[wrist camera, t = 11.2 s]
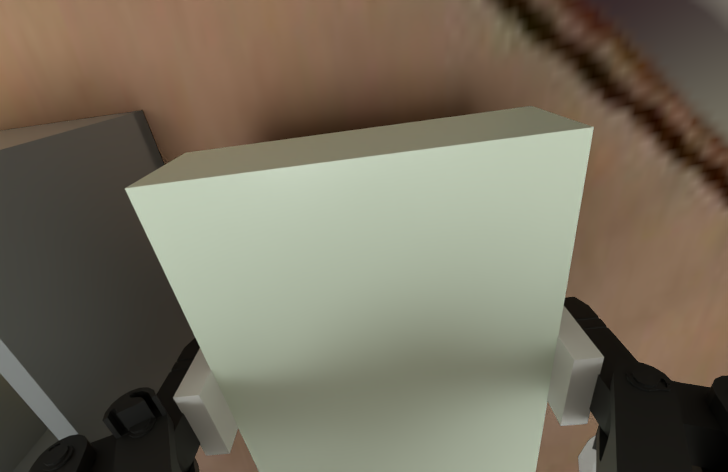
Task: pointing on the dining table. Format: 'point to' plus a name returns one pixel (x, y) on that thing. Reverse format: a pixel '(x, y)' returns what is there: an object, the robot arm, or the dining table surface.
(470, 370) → the lid
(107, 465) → the robot arm
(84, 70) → the dining table surface
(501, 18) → the dining table surface
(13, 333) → the box
